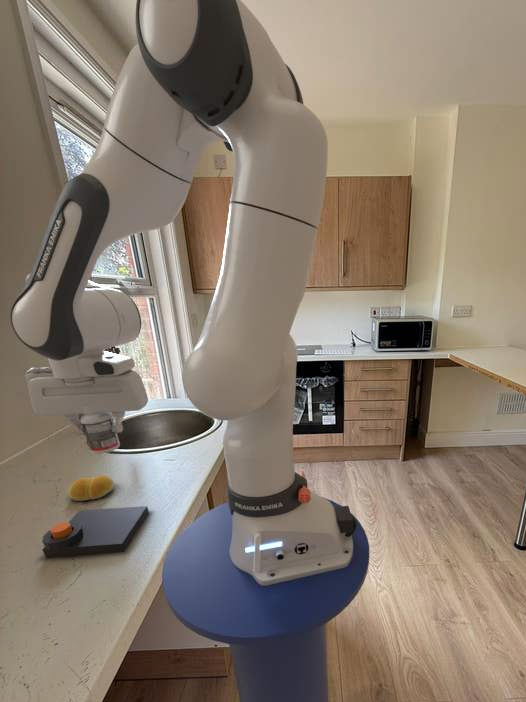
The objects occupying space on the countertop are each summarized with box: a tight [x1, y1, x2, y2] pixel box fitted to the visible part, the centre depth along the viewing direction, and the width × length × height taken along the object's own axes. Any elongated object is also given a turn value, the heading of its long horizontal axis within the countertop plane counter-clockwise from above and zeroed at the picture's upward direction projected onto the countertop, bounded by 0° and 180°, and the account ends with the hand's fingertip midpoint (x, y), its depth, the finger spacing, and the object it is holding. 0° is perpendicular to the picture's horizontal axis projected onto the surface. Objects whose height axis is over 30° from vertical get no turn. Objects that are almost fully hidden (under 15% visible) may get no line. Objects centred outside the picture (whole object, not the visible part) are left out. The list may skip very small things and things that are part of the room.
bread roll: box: [67, 475, 115, 502], centre depth 83 cm, size 8×9×4 cm
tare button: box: [49, 521, 72, 539], centre depth 65 cm, size 3×3×2 cm
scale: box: [42, 505, 150, 558], centre depth 69 cm, size 14×12×4 cm
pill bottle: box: [79, 407, 121, 455], centre depth 70 cm, size 5×5×10 cm
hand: (101, 432), depth 70 cm, fingers closed on pill bottle, 5 cm apart
